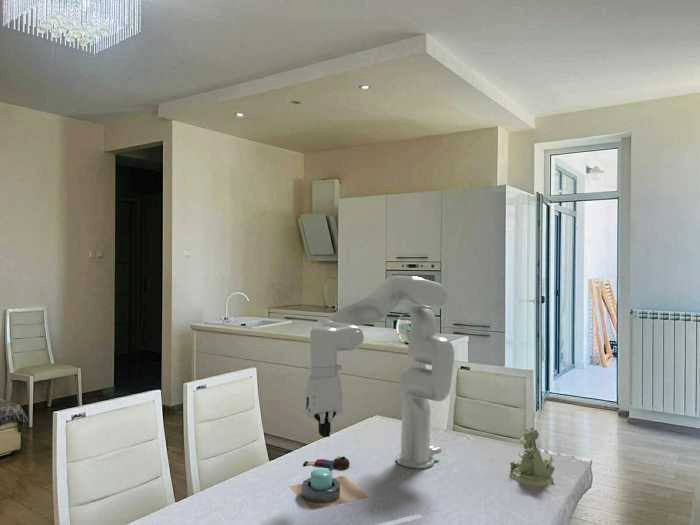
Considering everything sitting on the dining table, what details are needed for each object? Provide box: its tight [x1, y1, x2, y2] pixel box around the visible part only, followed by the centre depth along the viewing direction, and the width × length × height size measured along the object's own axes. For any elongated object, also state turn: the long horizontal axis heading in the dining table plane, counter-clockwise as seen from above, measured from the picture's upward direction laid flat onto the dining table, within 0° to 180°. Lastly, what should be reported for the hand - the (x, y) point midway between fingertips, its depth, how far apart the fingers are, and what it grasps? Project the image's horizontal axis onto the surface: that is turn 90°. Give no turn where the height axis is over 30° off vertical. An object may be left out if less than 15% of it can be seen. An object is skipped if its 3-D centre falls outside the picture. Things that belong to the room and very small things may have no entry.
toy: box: [302, 455, 351, 472], centre depth 170 cm, size 14×5×15 cm
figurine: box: [509, 427, 556, 487], centre depth 166 cm, size 14×13×15 cm
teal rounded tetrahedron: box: [310, 468, 333, 490], centre depth 149 cm, size 6×6×6 cm
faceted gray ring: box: [301, 477, 340, 504], centre depth 149 cm, size 10×10×3 cm
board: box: [289, 475, 371, 511], centre depth 151 cm, size 18×16×1 cm
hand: (324, 435), depth 149 cm, fingers closed
